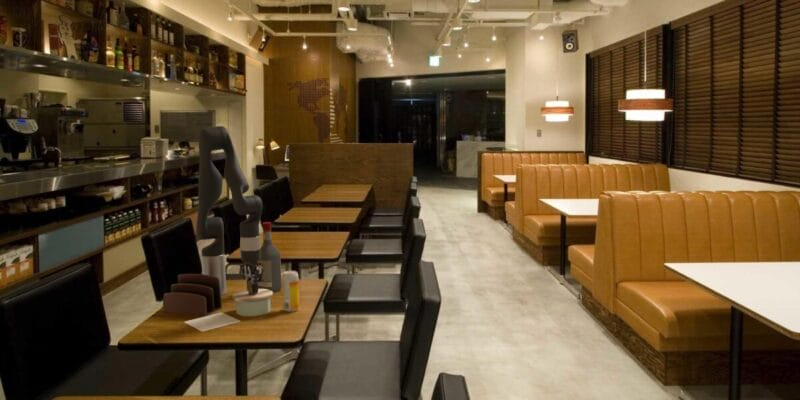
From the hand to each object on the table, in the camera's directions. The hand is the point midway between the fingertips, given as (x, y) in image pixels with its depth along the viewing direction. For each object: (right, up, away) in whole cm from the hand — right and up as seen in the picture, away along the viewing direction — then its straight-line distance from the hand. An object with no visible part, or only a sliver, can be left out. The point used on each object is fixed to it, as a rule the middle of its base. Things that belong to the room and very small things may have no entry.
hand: (252, 291), depth 229 cm
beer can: (+14, -8, +3) cm, 17 cm away
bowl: (0, -8, +1) cm, 8 cm away
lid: (0, -2, 0) cm, 2 cm away
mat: (-12, -10, -11) cm, 19 cm away
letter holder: (-24, -9, +4) cm, 26 cm away
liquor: (0, -4, +32) cm, 32 cm away
